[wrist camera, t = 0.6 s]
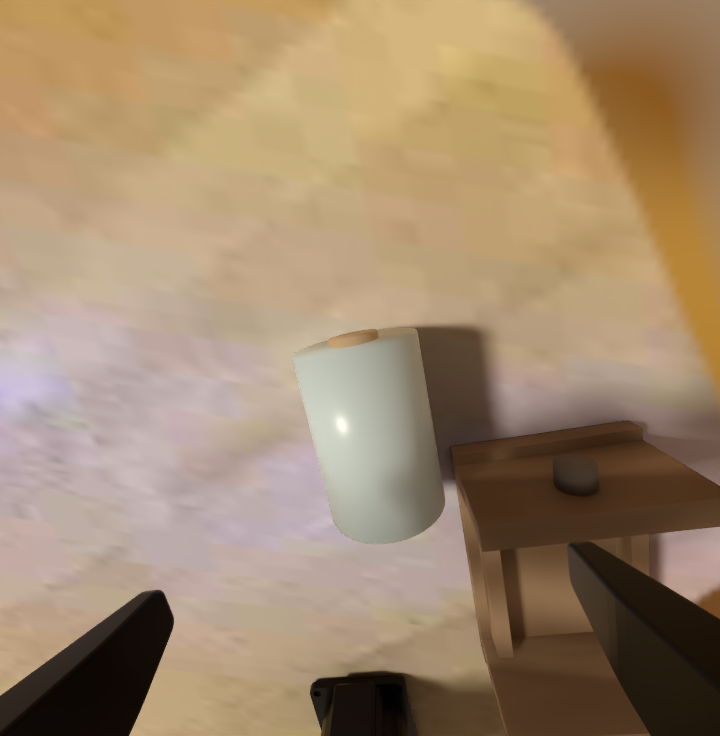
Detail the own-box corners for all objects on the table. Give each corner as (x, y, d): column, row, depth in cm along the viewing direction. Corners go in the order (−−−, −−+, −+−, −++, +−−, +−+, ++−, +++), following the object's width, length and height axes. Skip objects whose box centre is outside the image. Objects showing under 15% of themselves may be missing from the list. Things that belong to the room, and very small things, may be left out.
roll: (439, 470, 19) (453, 545, 13) (344, 480, 19) (321, 554, 14) (414, 316, 17) (418, 332, 11) (310, 336, 18) (269, 360, 12)
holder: (633, 639, 20) (722, 765, 15) (482, 650, 21) (514, 772, 16) (627, 413, 17) (737, 471, 12) (449, 439, 18) (475, 504, 13)
